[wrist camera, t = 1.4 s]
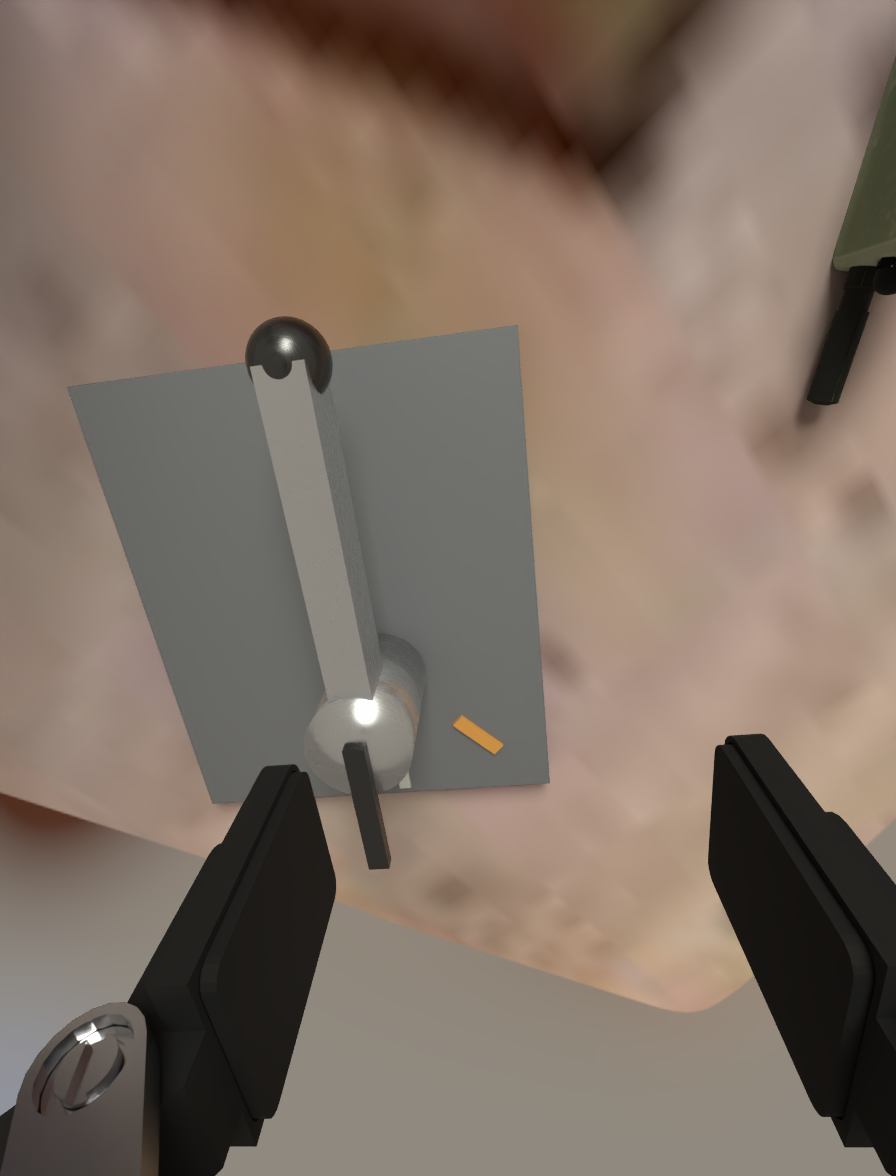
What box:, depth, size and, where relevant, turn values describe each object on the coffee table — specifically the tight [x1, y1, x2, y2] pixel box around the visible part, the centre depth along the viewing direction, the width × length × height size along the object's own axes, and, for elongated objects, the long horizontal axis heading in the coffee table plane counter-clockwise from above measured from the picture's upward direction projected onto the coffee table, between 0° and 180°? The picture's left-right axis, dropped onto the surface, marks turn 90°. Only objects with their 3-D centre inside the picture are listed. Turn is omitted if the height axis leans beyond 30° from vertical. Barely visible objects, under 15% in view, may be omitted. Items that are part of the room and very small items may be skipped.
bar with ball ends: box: [245, 316, 426, 870], centre depth 26 cm, size 25×5×8 cm, turn 7°
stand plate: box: [67, 325, 550, 804], centre depth 32 cm, size 26×22×2 cm
